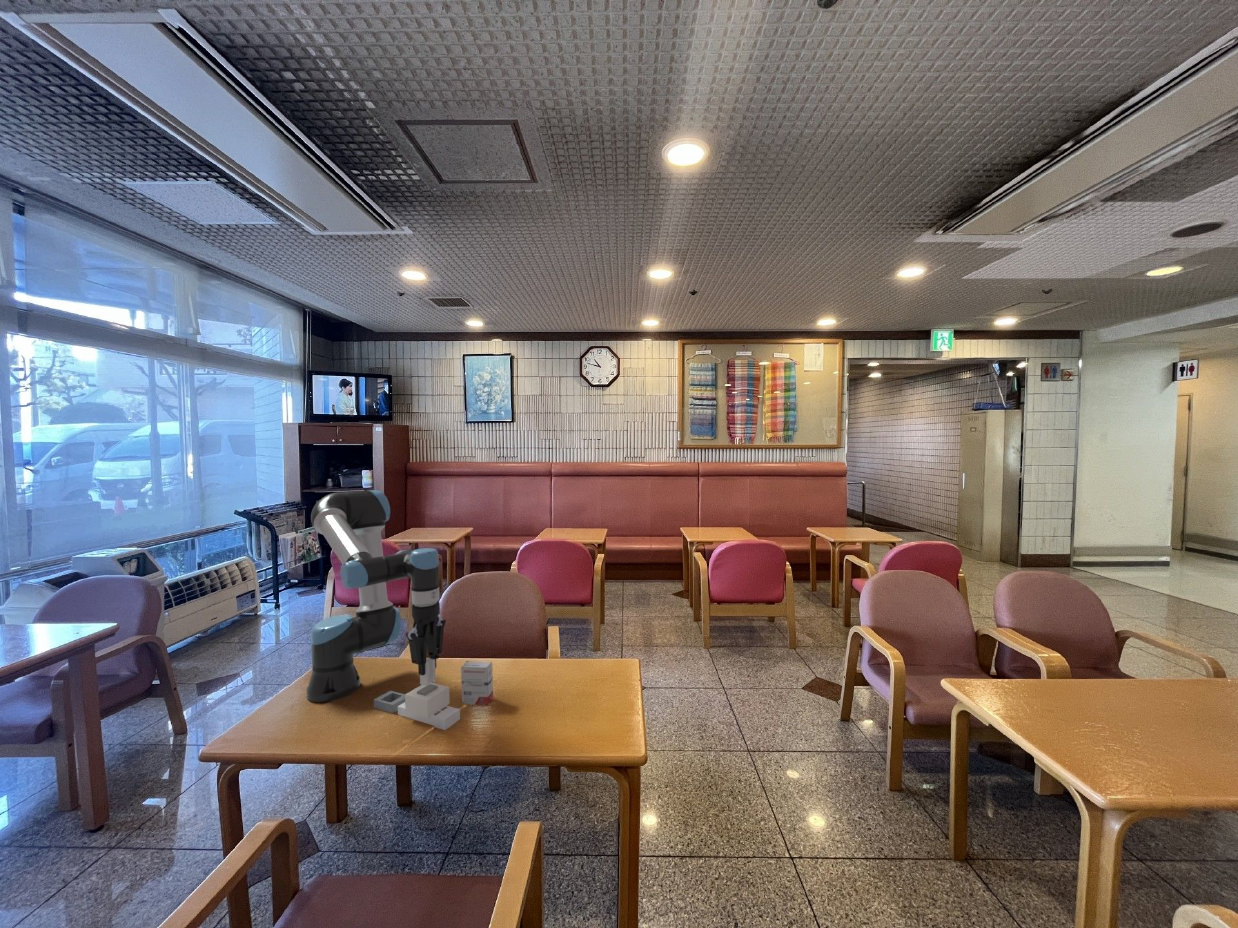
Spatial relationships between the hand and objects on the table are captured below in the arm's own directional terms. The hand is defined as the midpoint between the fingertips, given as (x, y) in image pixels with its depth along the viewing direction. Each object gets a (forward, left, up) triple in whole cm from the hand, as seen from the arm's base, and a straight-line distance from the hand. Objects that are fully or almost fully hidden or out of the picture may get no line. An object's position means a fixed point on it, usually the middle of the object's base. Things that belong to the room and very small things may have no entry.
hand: (427, 682), depth 144 cm
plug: (0, 0, -10) cm, 10 cm away
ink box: (+7, +13, -11) cm, 18 cm away
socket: (0, 0, -10) cm, 10 cm away
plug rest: (-15, 0, -10) cm, 18 cm away
